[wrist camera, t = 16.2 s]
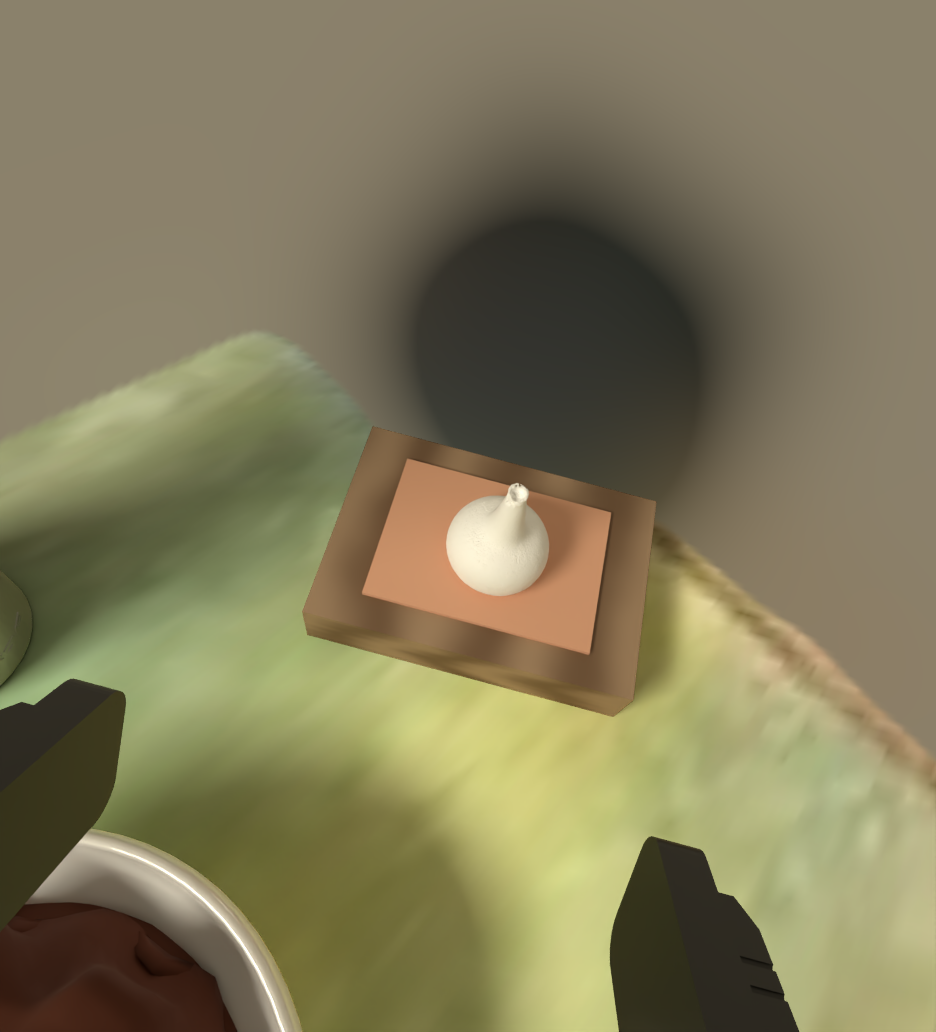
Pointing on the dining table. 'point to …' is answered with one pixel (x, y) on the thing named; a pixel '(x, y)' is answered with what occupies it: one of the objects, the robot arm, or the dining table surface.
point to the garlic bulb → (498, 543)
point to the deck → (467, 646)
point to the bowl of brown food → (136, 950)
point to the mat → (437, 589)
